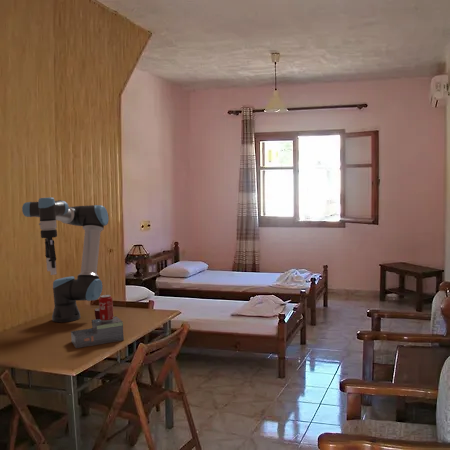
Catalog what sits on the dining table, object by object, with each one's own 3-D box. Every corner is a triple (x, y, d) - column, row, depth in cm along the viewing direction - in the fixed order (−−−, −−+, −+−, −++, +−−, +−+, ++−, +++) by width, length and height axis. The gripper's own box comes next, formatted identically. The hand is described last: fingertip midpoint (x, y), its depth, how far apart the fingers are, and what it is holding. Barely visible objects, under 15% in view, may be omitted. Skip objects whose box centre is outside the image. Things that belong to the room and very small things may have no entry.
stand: (71, 344, 262) (70, 319, 261) (117, 337, 271) (116, 313, 270) (76, 351, 251) (74, 325, 250) (124, 343, 260) (122, 318, 259)
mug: (106, 331, 277) (105, 312, 276) (91, 331, 278) (89, 312, 277) (114, 326, 287) (112, 307, 286) (99, 326, 289) (98, 307, 288)
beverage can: (101, 319, 265) (99, 294, 264) (114, 318, 265) (112, 293, 264) (99, 322, 259) (97, 297, 258) (112, 321, 259) (111, 296, 258)
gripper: (37, 228, 278) (40, 270, 280) (43, 231, 255) (47, 277, 257) (53, 227, 281) (56, 268, 283) (60, 230, 258) (63, 275, 260)
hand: (51, 272), depth 270 cm, fingers open, 13 cm apart
